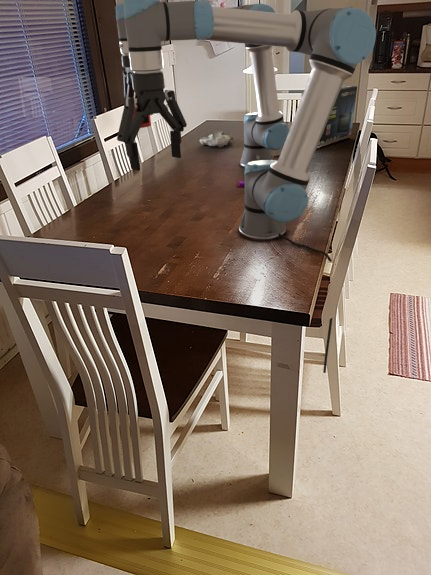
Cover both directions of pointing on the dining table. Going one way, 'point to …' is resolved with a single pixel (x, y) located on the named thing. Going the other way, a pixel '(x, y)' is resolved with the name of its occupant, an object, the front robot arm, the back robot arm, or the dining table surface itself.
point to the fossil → (217, 139)
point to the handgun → (241, 183)
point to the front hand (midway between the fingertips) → (156, 163)
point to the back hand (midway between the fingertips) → (139, 121)
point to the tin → (144, 123)
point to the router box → (340, 115)
